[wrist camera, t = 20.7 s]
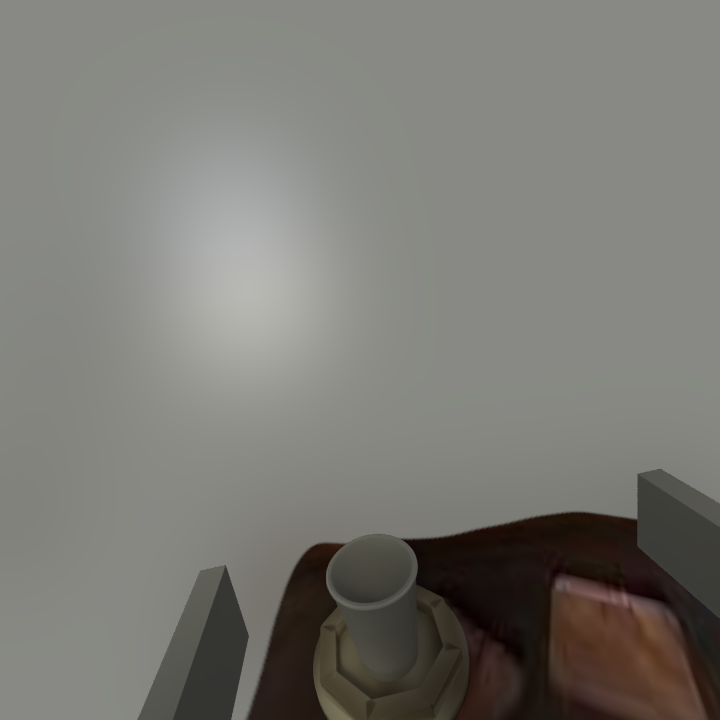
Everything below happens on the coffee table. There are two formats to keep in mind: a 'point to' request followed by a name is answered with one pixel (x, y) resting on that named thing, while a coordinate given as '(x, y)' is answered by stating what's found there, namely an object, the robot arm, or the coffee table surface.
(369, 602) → the dixie cup
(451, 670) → the rimmed coaster
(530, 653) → the coffee table surface
